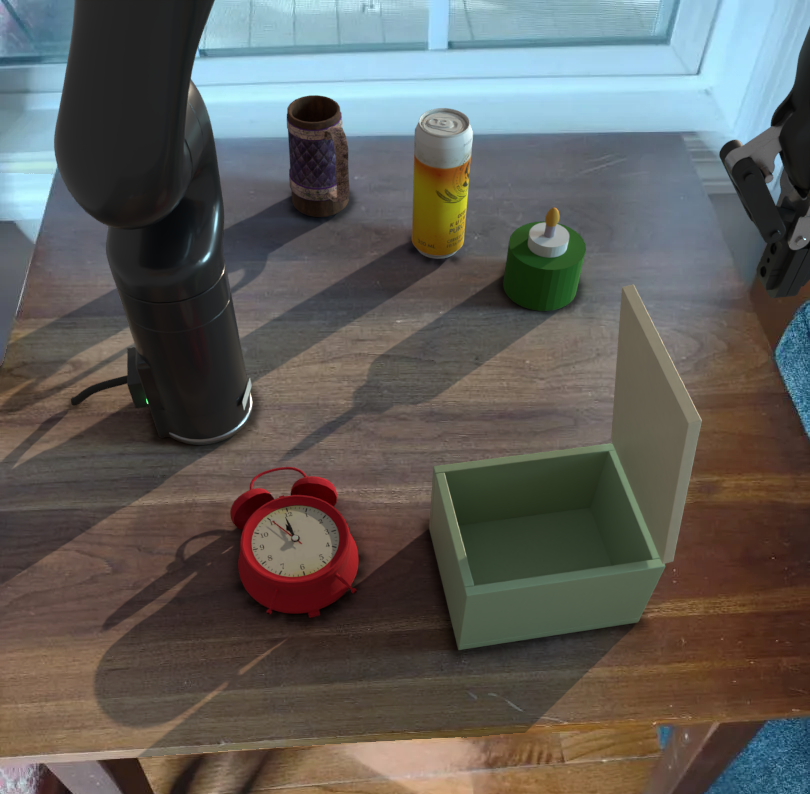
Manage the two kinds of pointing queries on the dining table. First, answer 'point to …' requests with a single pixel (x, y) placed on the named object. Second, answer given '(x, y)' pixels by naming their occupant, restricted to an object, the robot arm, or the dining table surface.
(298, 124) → the mug
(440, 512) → the chest
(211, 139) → the robot arm
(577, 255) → the candle
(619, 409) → the lid
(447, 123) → the beer can
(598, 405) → the dining table surface
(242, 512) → the alarm clock
